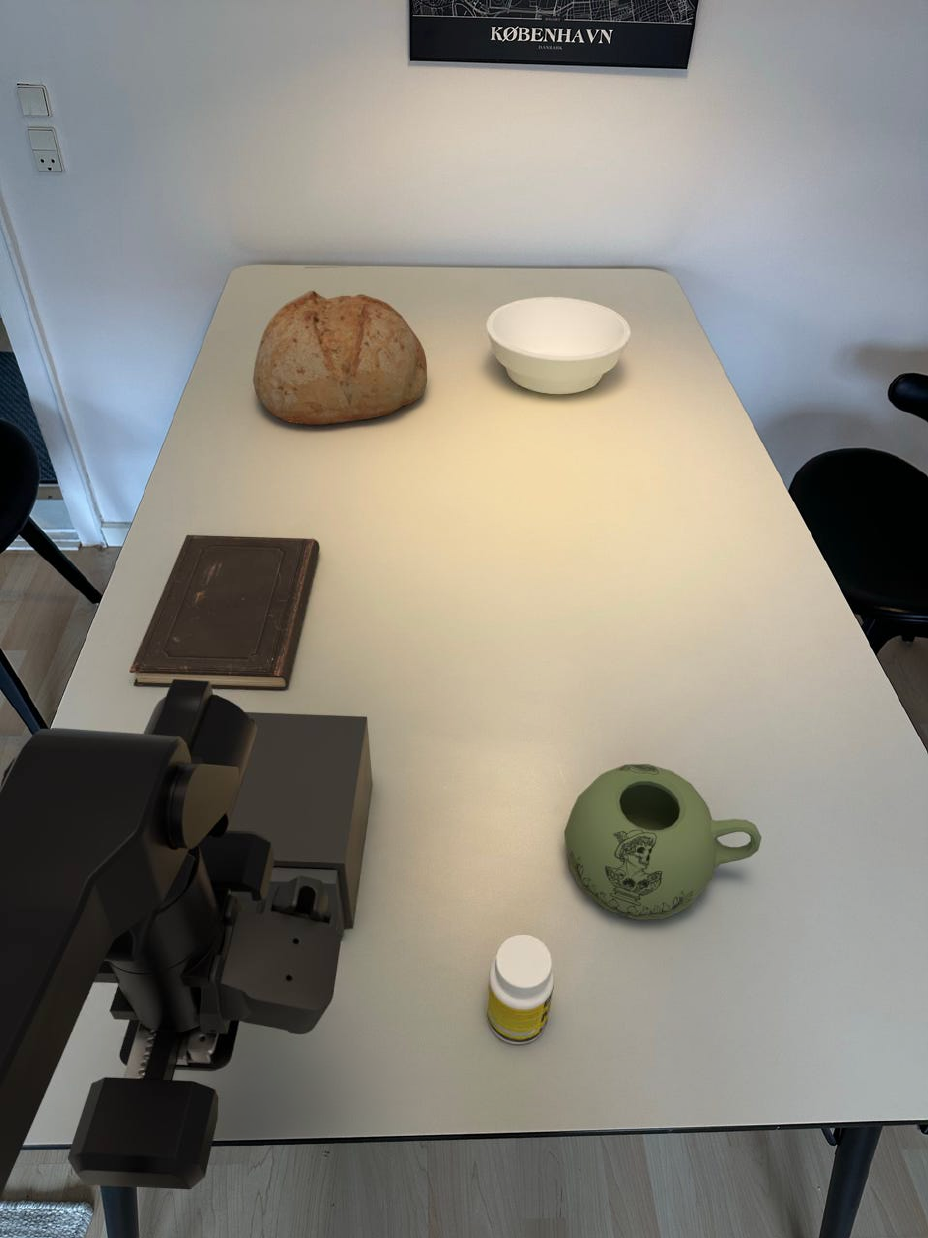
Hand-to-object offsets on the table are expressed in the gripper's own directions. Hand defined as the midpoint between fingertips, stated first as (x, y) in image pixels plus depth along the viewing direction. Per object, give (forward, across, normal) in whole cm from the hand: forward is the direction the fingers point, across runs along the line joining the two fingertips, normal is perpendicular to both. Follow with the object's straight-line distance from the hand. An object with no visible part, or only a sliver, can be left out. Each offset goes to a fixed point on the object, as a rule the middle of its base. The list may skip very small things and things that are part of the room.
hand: (211, 1050), depth 55 cm
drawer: (+11, +18, 0) cm, 21 cm away
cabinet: (+12, +22, 0) cm, 25 cm away
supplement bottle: (+12, +8, -19) cm, 24 cm away
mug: (+12, +22, -31) cm, 40 cm away
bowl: (+12, +112, -26) cm, 116 cm away
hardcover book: (+12, +52, +12) cm, 55 cm away
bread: (+12, +104, +7) cm, 105 cm away
